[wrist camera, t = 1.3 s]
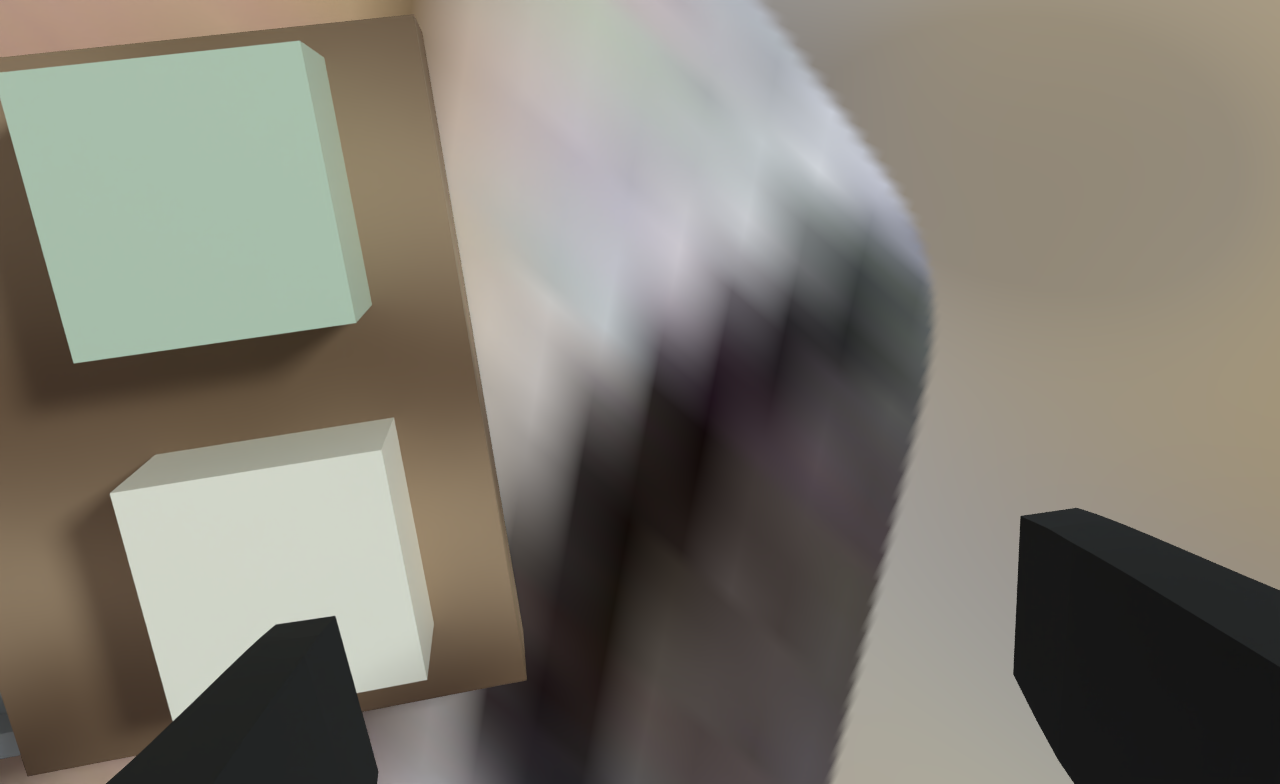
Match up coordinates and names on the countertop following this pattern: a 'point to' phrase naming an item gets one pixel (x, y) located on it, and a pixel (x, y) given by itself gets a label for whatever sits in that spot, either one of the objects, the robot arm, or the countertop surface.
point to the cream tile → (277, 553)
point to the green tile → (188, 197)
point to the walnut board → (245, 419)
